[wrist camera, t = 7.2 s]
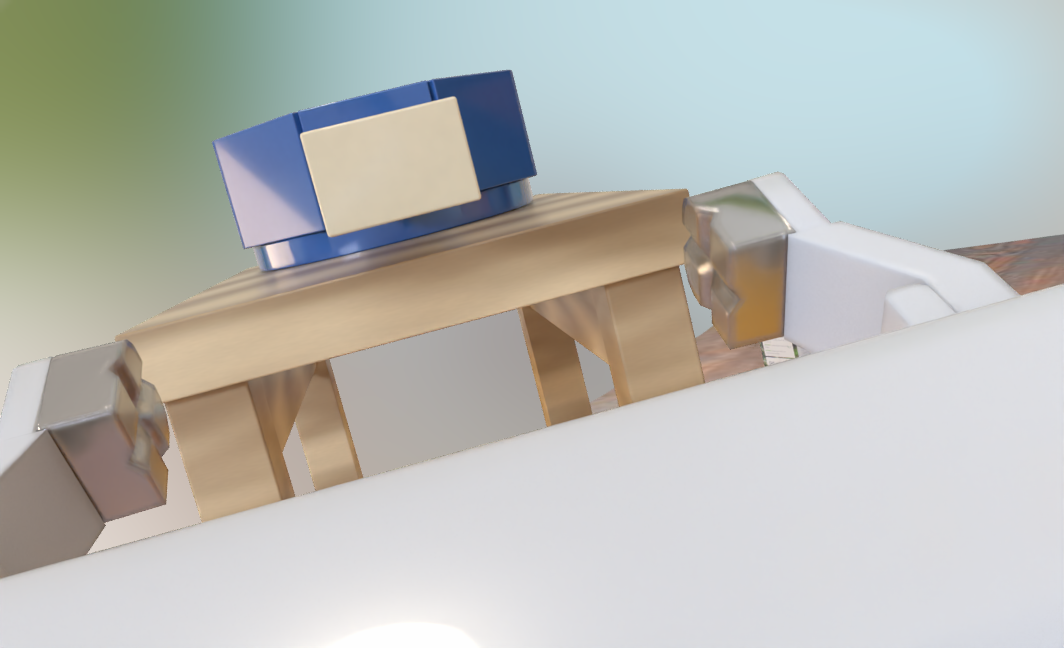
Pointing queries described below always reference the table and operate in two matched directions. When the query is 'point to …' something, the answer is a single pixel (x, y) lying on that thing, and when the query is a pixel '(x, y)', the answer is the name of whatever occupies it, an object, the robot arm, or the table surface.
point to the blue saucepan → (378, 169)
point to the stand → (417, 331)
